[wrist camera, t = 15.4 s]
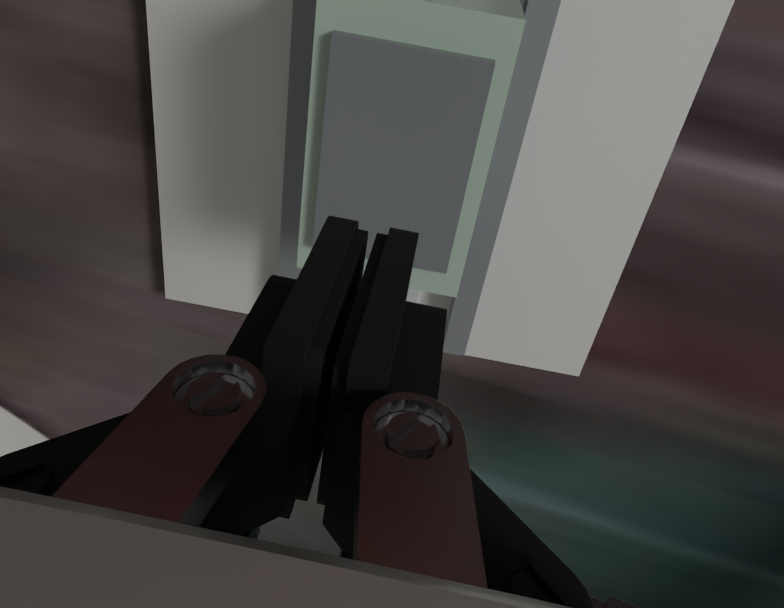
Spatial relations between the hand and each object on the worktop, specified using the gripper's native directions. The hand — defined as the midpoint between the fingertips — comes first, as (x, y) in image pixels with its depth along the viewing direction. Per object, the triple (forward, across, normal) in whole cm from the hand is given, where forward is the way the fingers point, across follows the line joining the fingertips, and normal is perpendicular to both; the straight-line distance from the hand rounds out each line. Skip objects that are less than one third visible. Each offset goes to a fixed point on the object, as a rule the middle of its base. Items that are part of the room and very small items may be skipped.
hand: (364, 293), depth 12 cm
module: (+14, 0, 0) cm, 14 cm away
